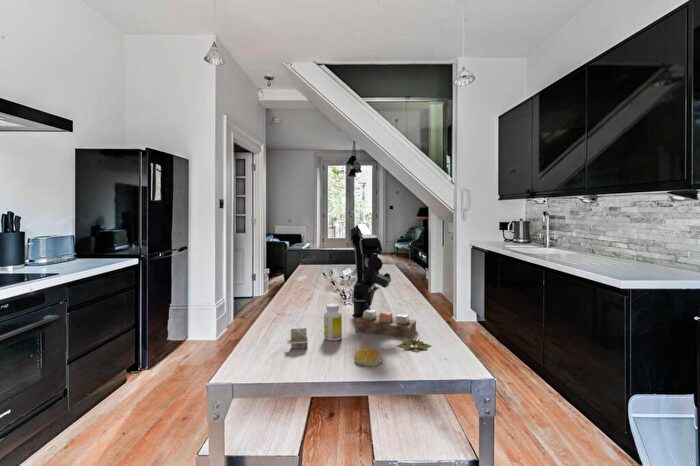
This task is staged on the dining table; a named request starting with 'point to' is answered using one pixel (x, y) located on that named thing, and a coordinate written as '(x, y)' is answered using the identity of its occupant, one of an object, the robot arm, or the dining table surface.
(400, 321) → the grey block
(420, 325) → the dining table surface
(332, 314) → the supplement bottle
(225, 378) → the dining table surface
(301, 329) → the architectural model
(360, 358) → the bread roll
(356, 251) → the robot arm
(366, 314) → the grey cube
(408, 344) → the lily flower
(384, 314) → the orange cube
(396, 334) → the console
